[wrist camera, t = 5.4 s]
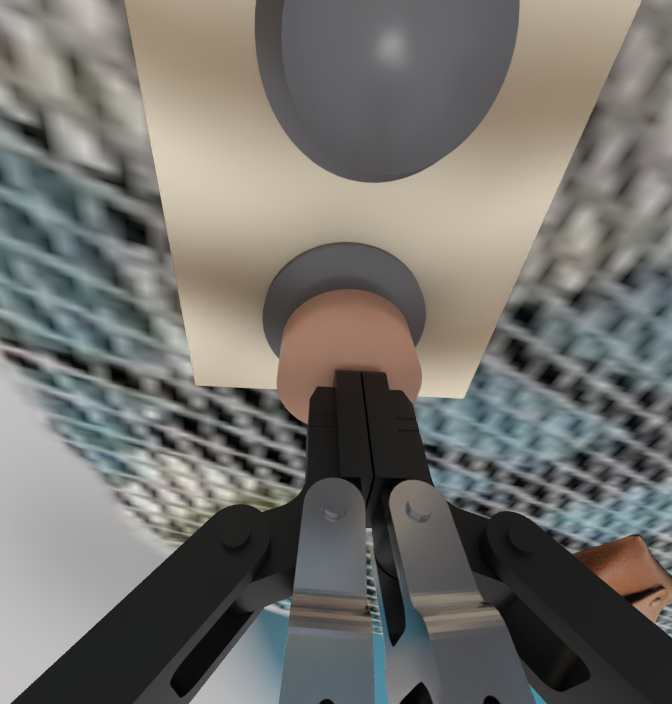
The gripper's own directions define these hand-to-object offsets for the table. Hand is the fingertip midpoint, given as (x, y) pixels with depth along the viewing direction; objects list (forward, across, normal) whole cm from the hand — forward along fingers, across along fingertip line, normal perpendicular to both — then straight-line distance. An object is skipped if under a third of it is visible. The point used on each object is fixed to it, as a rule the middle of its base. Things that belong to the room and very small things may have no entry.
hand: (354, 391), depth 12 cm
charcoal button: (+3, 0, -8) cm, 9 cm away
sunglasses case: (+7, -31, +30) cm, 44 cm away
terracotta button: (+2, 0, 0) cm, 2 cm away
